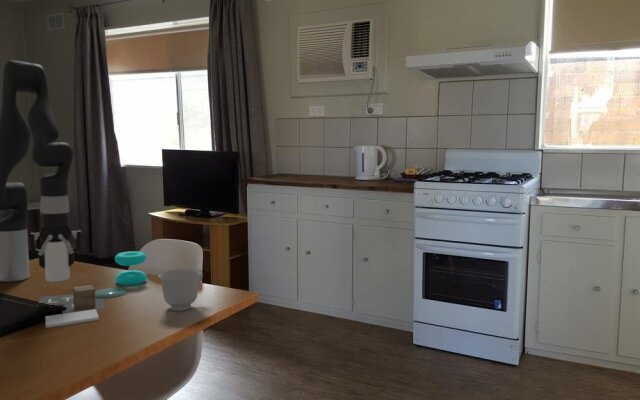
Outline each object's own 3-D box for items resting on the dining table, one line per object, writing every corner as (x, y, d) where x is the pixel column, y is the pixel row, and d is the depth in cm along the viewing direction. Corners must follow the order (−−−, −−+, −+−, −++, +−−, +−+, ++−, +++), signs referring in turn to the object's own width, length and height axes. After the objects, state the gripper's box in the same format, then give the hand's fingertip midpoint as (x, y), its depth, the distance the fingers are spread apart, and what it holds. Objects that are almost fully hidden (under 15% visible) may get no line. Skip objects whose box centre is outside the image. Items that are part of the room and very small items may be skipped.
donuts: (115, 257, 167) (113, 251, 176) (116, 287, 168) (114, 280, 177) (148, 255, 171) (144, 249, 180) (148, 284, 172) (145, 277, 181)
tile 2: (64, 302, 152) (64, 301, 152) (105, 298, 156) (104, 297, 156) (62, 313, 142) (62, 313, 142) (105, 309, 146) (105, 308, 146)
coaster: (92, 291, 163) (92, 289, 163) (126, 288, 167) (126, 286, 167) (92, 300, 154) (92, 298, 154) (127, 296, 158) (127, 294, 158)
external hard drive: (99, 323, 136) (45, 330, 130) (96, 314, 143) (45, 321, 137) (98, 317, 136) (45, 324, 130) (95, 308, 143) (45, 315, 137)
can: (74, 277, 156) (72, 238, 154) (61, 283, 149) (59, 242, 148) (54, 276, 156) (52, 237, 155) (40, 282, 150) (38, 241, 149)
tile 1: (40, 297, 156) (40, 297, 156) (80, 293, 161) (80, 293, 161) (36, 308, 146) (36, 307, 146) (79, 303, 150) (79, 303, 150)
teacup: (217, 303, 152) (217, 269, 151) (182, 317, 139) (181, 281, 138) (186, 297, 158) (186, 265, 157) (149, 310, 145) (148, 275, 144)
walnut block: (73, 304, 149) (73, 287, 149) (92, 301, 152) (91, 284, 152) (76, 308, 145) (75, 291, 145) (95, 305, 148) (94, 288, 148)
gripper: (82, 208, 157) (84, 262, 159) (28, 209, 151) (30, 265, 153) (81, 211, 150) (83, 267, 152) (25, 213, 144) (27, 271, 146)
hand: (57, 266), depth 152 cm, fingers closed on can, 6 cm apart
